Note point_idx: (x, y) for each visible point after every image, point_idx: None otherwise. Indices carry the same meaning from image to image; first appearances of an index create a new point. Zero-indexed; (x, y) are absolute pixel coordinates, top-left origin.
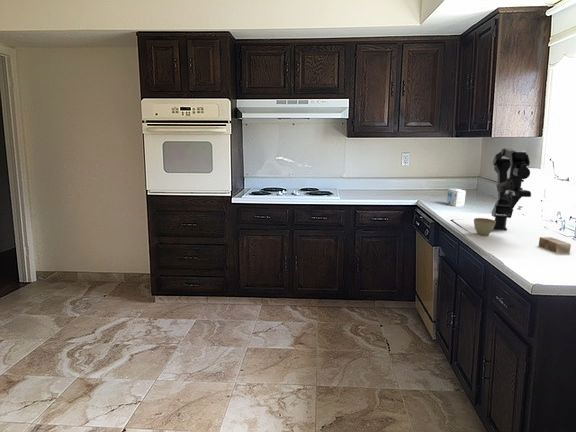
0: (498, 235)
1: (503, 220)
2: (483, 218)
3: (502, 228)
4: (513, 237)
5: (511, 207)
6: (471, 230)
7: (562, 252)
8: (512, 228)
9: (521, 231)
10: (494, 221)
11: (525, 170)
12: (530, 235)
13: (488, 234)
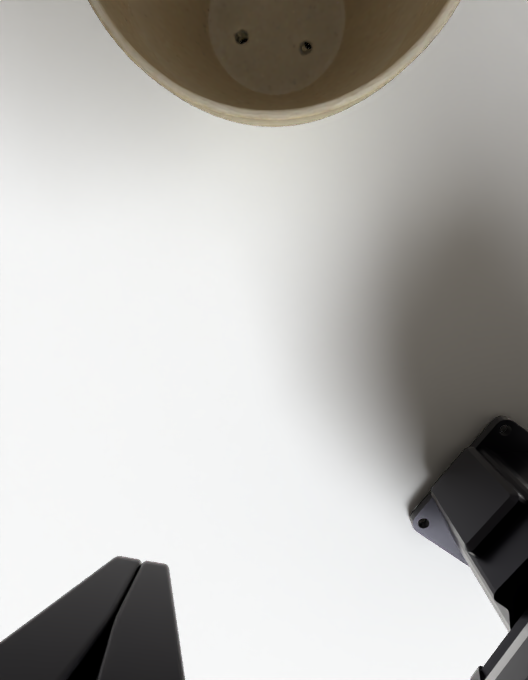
0: (192, 203)
1: (486, 552)
2: (441, 8)
3: (435, 483)
4: (85, 316)
5: (93, 587)
6: (500, 22)
7: None
8: (467, 642)
9: (328, 627)
10: (206, 98)
11: None
12: None
13: (205, 51)
